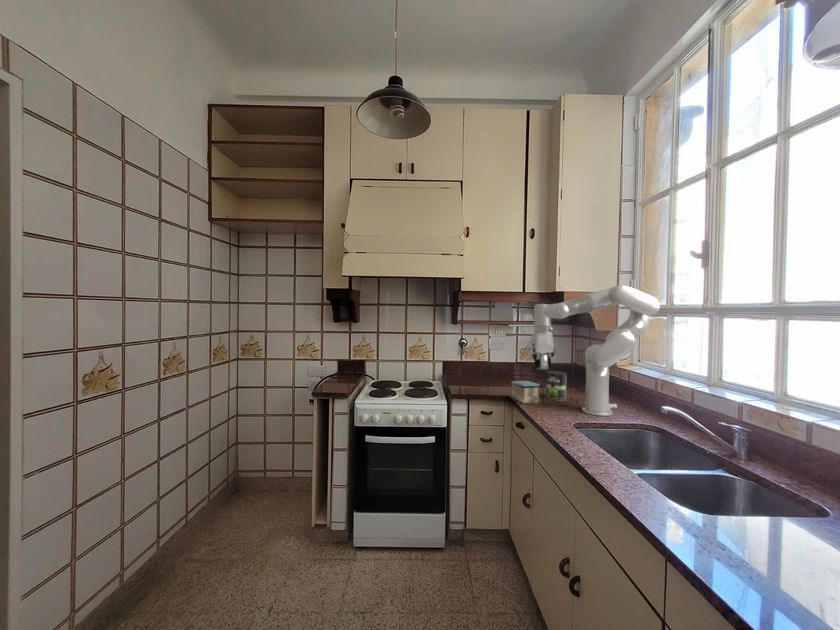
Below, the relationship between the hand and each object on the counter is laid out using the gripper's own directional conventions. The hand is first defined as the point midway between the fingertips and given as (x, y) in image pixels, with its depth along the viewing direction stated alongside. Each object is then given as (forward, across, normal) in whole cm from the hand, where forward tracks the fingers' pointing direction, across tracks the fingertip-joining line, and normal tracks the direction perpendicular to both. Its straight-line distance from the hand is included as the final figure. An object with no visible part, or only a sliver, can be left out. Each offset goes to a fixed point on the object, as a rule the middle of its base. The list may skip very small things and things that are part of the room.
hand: (542, 366), depth 165 cm
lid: (+12, 0, -15) cm, 19 cm away
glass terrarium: (+21, -19, -17) cm, 33 cm away
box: (+20, +1, -15) cm, 25 cm away
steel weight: (+1, 0, 0) cm, 1 cm away
